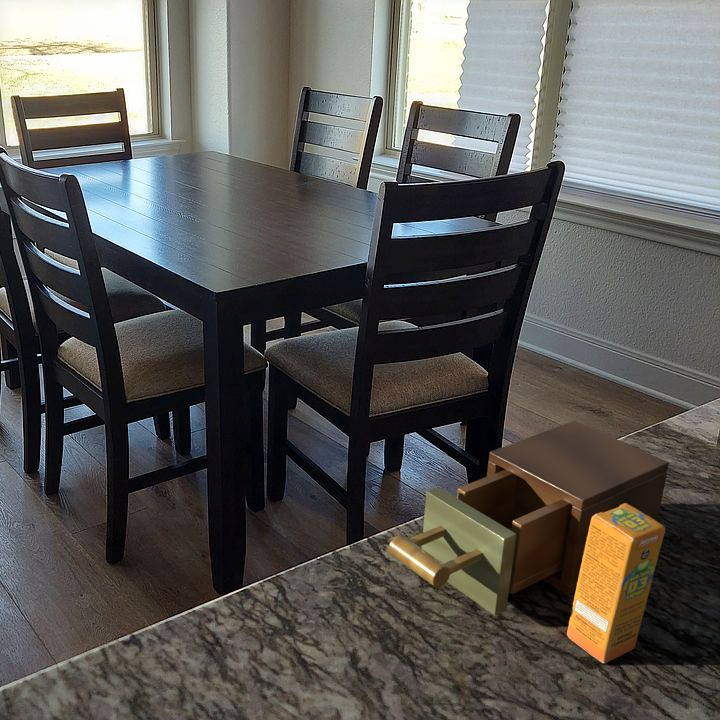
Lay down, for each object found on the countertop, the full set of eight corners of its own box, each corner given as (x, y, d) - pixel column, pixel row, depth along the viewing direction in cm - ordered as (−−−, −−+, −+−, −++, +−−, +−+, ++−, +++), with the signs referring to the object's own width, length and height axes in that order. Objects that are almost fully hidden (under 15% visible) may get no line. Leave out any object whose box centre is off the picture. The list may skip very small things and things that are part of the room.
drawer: (444, 641, 57) (452, 562, 54) (371, 584, 63) (376, 510, 60) (579, 573, 63) (591, 500, 61) (502, 526, 69) (510, 458, 67)
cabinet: (567, 596, 62) (583, 500, 59) (479, 539, 69) (489, 451, 66) (651, 552, 67) (669, 462, 64) (561, 503, 74) (574, 420, 71)
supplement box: (606, 668, 55) (631, 538, 52) (564, 637, 58) (585, 511, 55) (640, 651, 57) (667, 523, 53) (598, 622, 60) (621, 498, 56)
